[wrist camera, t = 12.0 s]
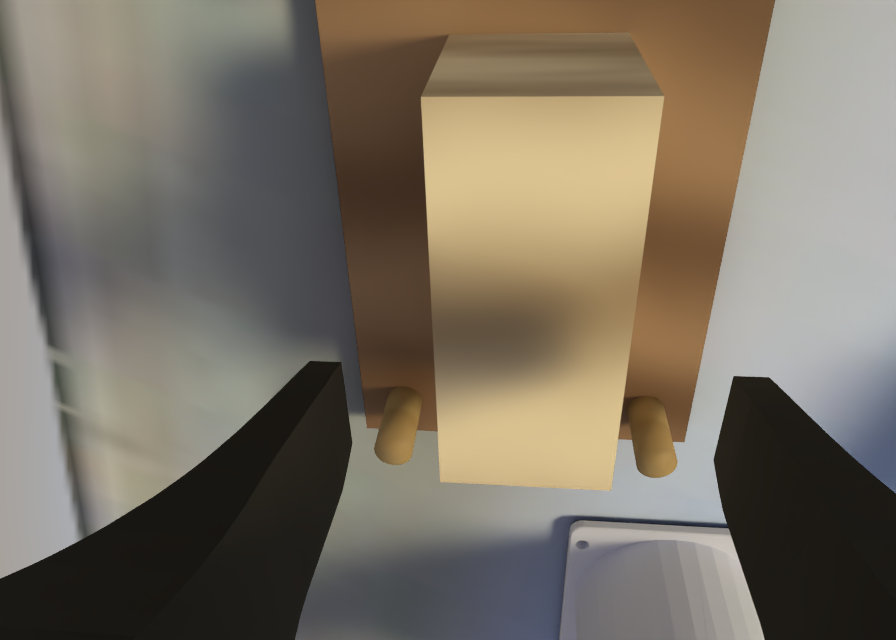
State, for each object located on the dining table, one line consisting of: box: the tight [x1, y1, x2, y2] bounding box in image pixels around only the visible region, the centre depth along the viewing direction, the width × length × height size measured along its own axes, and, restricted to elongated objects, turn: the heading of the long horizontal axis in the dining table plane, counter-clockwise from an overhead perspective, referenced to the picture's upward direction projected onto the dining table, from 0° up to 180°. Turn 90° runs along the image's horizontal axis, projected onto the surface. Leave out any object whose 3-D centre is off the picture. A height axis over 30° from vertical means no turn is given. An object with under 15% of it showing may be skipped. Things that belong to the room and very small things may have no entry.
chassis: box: [315, 0, 775, 478], centre depth 20 cm, size 16×11×3 cm
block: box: [421, 32, 664, 491], centre depth 18 cm, size 10×4×6 cm, turn 2°
